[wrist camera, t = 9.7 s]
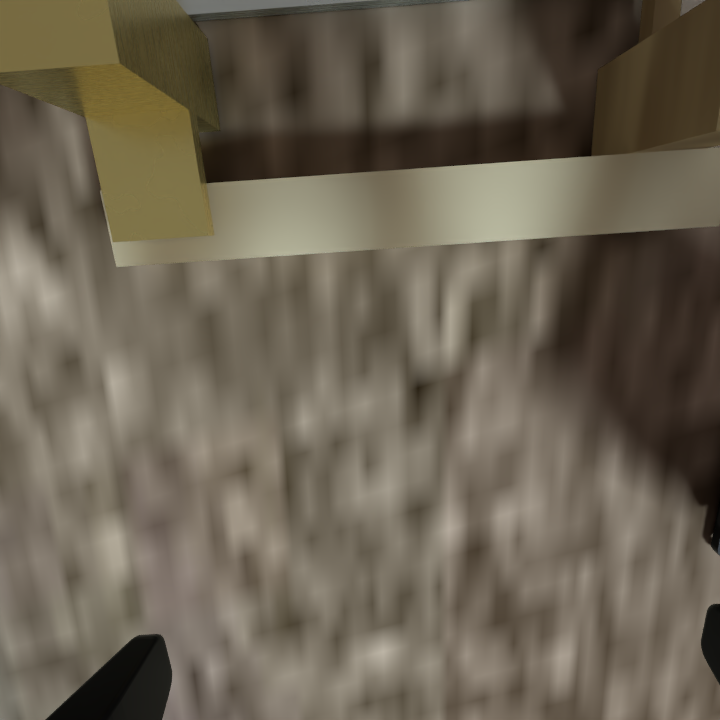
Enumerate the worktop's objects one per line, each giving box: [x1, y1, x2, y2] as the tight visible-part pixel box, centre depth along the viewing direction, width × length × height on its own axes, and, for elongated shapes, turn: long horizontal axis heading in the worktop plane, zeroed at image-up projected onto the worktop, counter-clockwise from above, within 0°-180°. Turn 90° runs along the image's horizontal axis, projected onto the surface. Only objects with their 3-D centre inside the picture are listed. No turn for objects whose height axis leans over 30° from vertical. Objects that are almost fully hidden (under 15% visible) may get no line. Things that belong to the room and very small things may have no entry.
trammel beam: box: [100, 0, 720, 267], centre depth 13 cm, size 20×10×6 cm, turn 94°
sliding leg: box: [0, 0, 220, 242], centre depth 12 cm, size 3×11×7 cm, turn 4°
